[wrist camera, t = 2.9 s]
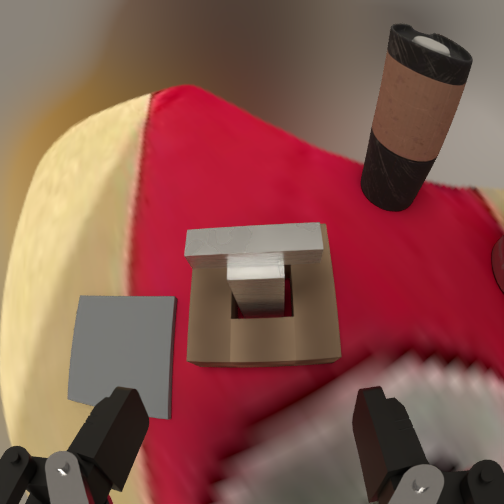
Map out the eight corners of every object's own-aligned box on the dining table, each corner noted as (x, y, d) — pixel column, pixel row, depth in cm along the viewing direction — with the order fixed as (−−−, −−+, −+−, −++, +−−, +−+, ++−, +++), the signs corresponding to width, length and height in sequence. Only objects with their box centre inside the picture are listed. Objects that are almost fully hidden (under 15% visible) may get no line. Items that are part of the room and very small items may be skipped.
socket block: (321, 245, 30) (325, 223, 26) (332, 362, 24) (341, 356, 21) (206, 251, 31) (196, 230, 27) (199, 366, 25) (186, 361, 22)
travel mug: (388, 224, 30) (452, 64, 13) (345, 180, 34) (371, 23, 16) (426, 197, 32) (485, 60, 14) (385, 158, 35) (418, 23, 17)
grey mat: (177, 299, 29) (174, 296, 28) (170, 418, 23) (167, 419, 22) (83, 297, 30) (80, 295, 29) (71, 399, 24) (67, 399, 23)
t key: (305, 284, 28) (317, 210, 18) (308, 319, 26) (325, 262, 16) (223, 288, 29) (188, 218, 18) (222, 322, 27) (182, 269, 16)
